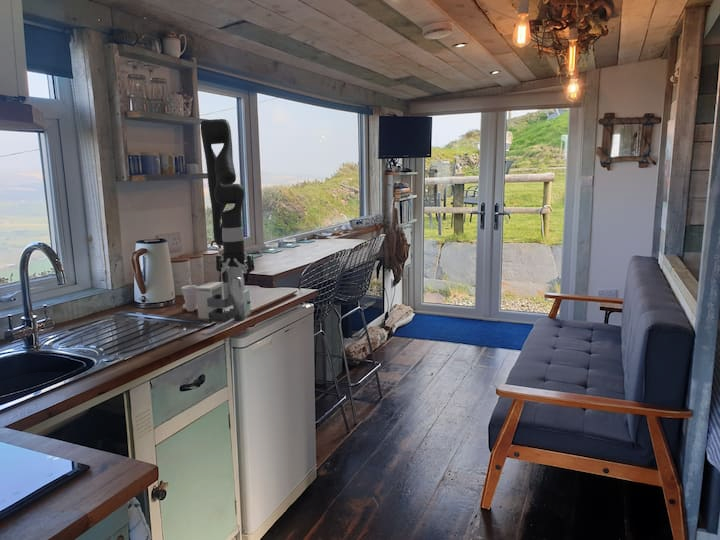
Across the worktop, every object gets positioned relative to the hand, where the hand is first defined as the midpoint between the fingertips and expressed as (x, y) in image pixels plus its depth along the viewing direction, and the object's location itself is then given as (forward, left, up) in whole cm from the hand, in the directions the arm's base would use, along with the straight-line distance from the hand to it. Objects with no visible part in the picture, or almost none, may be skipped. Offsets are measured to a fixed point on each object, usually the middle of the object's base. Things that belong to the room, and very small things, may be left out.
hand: (236, 282), depth 200 cm
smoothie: (-9, -26, -14) cm, 31 cm away
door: (-3, 0, -14) cm, 15 cm away
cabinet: (-3, -10, -14) cm, 18 cm away
